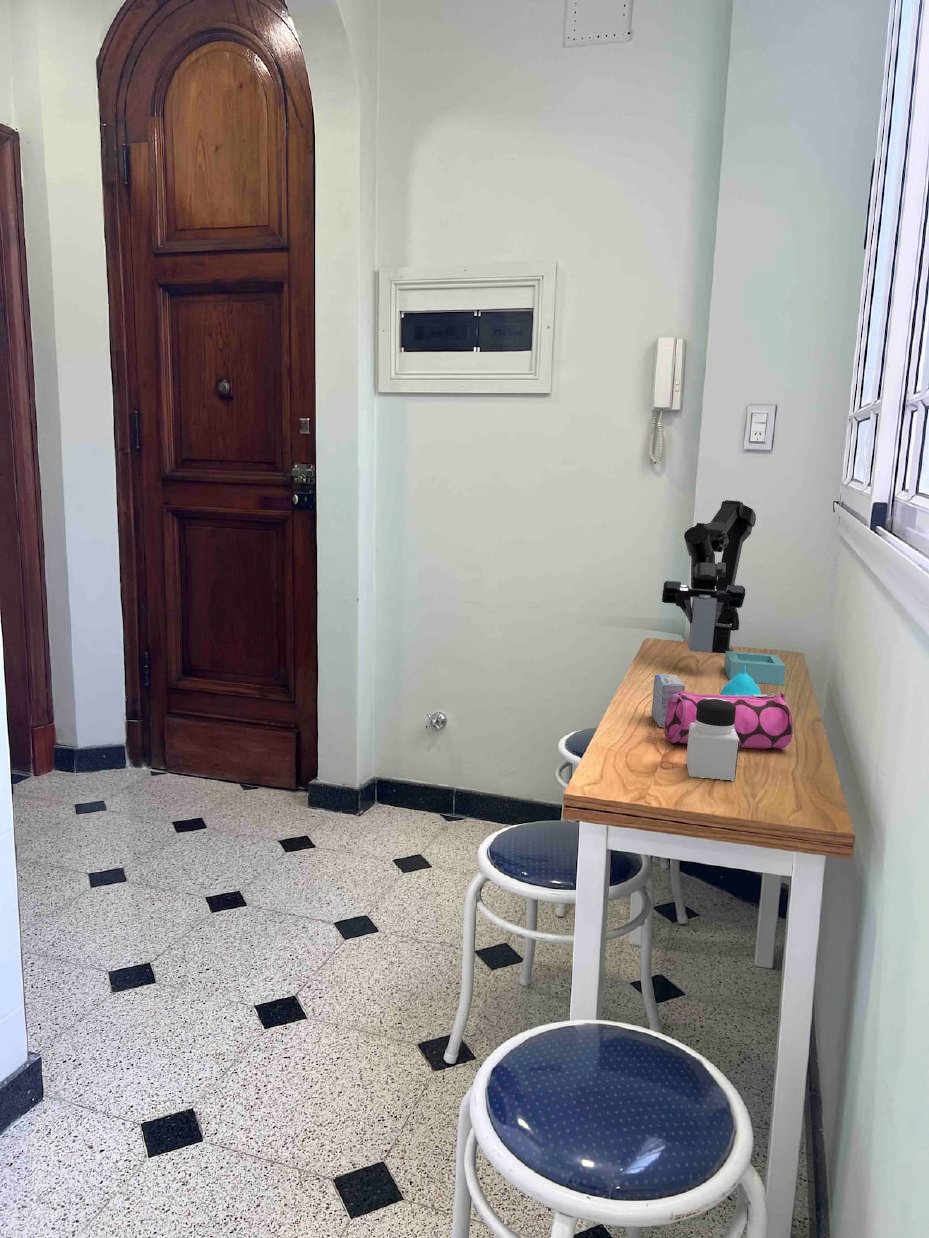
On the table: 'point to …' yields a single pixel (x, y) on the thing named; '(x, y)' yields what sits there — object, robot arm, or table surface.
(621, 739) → the table surface
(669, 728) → the pencil case
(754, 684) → the toy shark
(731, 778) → the medicine bottle
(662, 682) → the medicine box
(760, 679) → the teal base brick
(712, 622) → the grey knobbed block
